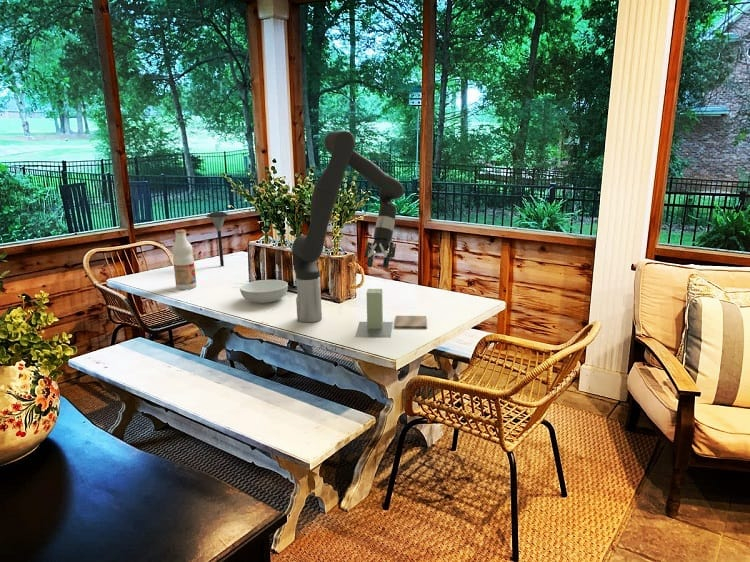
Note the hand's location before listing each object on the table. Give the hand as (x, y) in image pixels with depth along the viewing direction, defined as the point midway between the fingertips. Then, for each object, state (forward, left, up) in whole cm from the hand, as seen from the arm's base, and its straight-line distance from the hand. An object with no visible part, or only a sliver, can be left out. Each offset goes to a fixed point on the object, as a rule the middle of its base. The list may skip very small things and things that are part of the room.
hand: (377, 267), depth 230 cm
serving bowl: (-51, +13, -19) cm, 56 cm away
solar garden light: (-92, +76, -19) cm, 121 cm away
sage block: (0, -20, -18) cm, 27 cm away
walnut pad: (+14, -16, -18) cm, 28 cm away
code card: (0, -23, -18) cm, 29 cm away
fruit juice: (-95, +33, -19) cm, 103 cm away
